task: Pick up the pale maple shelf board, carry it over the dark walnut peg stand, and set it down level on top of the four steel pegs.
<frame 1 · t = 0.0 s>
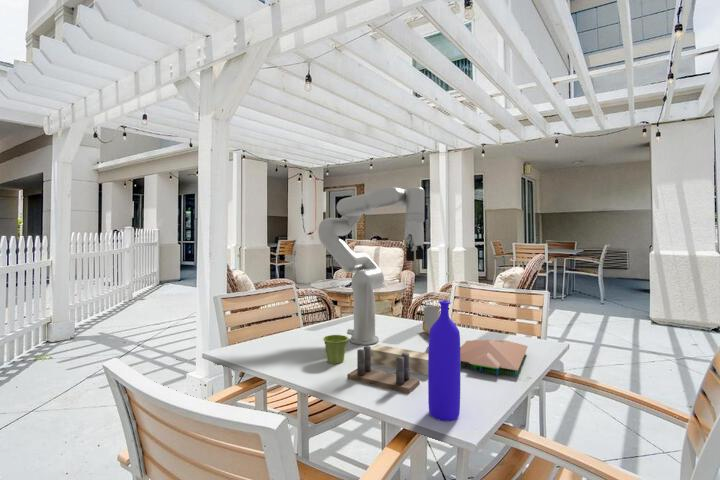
hand: (414, 260, 154), 37 cm above the table, tool pointing down, fingers open, 9 cm apart
peg stand: (382, 381, 122), on the table
plant pot: (335, 361, 141), on the table
bottle: (444, 414, 100), on the table
house: (489, 362, 142), on the table
shelf board: (403, 367, 135), on the table
snack package: (435, 338, 173), on the table
chalice: (431, 353, 151), on the table
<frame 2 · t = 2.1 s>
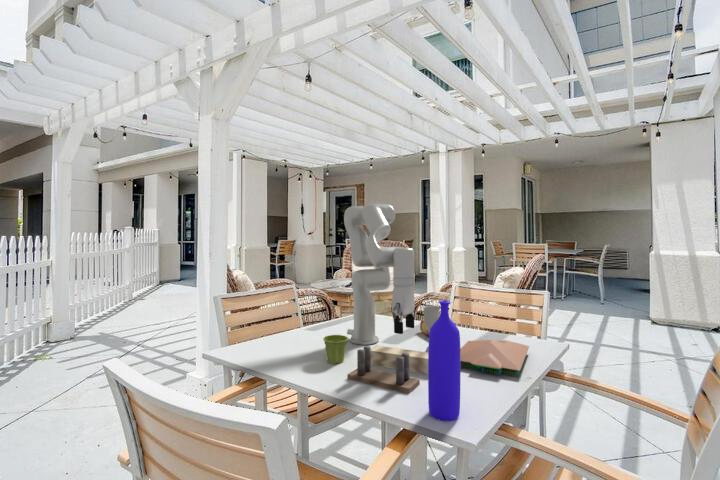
hand: (404, 330, 135), 13 cm above the table, tool pointing down, fingers open, 9 cm apart
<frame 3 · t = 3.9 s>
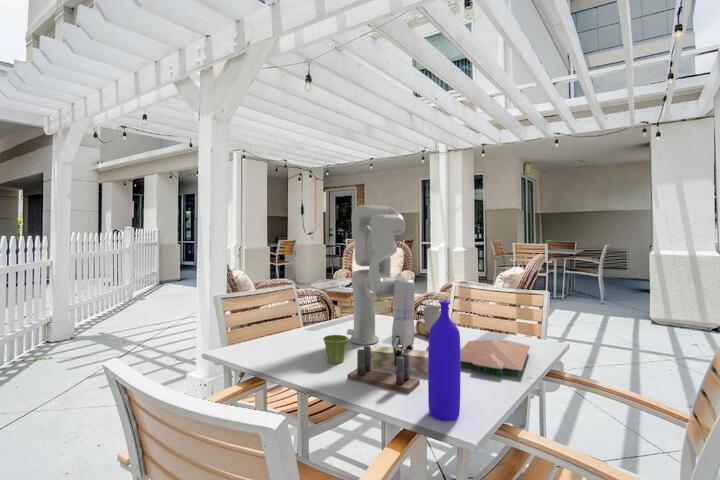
hand: (404, 363, 135), 1 cm above the table, tool pointing down, fingers closed on shelf board, 7 cm apart
shelf board: (403, 366, 135), on the table, touching gripper
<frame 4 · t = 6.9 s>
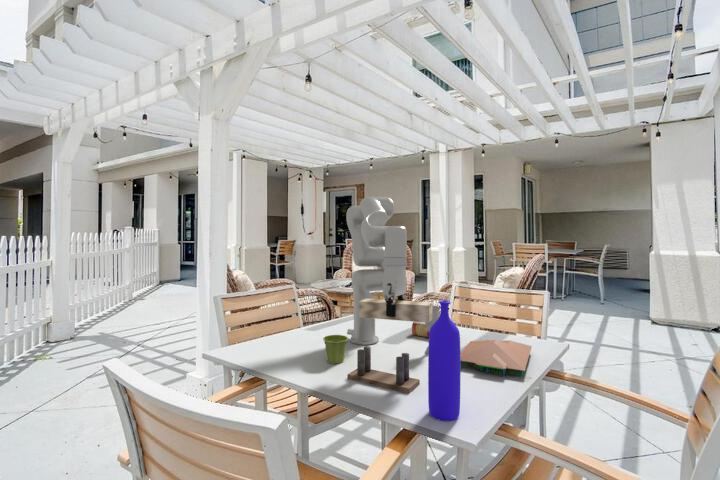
hand: (395, 314, 129), 20 cm above the table, tool pointing down, fingers closed on shelf board, 7 cm apart
shelf board: (395, 317, 129), point 19 cm above the table, touching gripper
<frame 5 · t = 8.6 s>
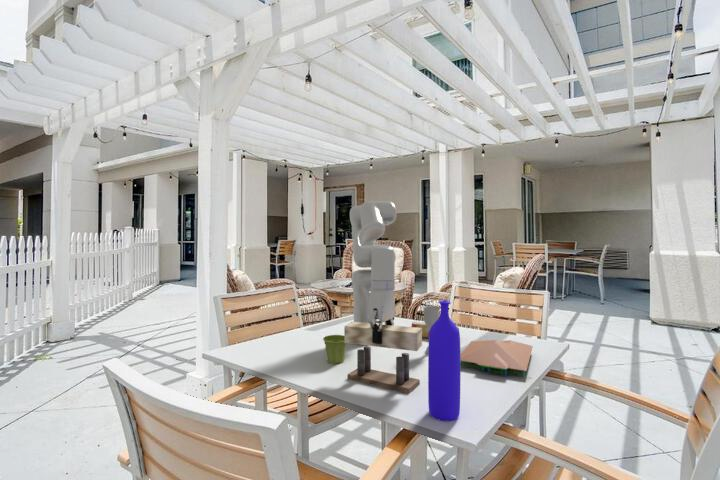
hand: (382, 339, 121), 14 cm above the table, tool pointing down, fingers closed on shelf board, 7 cm apart
shelf board: (382, 344, 121), point 12 cm above the table, touching gripper
when the fingers open (12 cm above the table, at t = 9.8 s): shelf board drops 1 cm, resting on peg stand.
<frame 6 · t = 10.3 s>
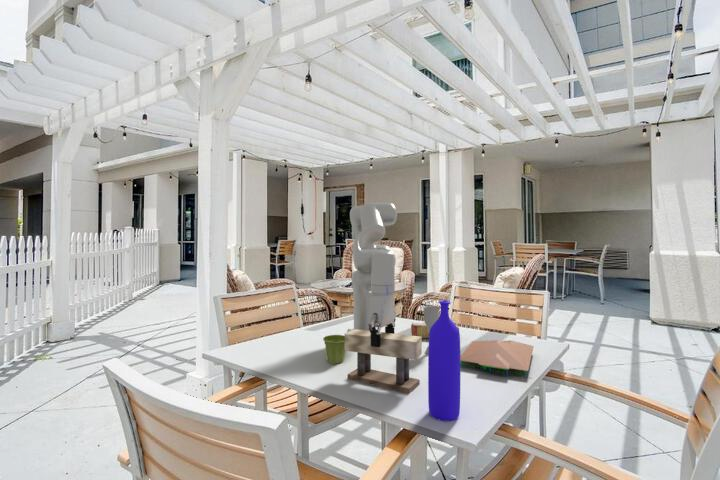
hand: (382, 342, 122), 13 cm above the table, tool pointing down, fingers open, 9 cm apart
shelf board: (382, 352, 122), point 9 cm above the table, touching peg stand
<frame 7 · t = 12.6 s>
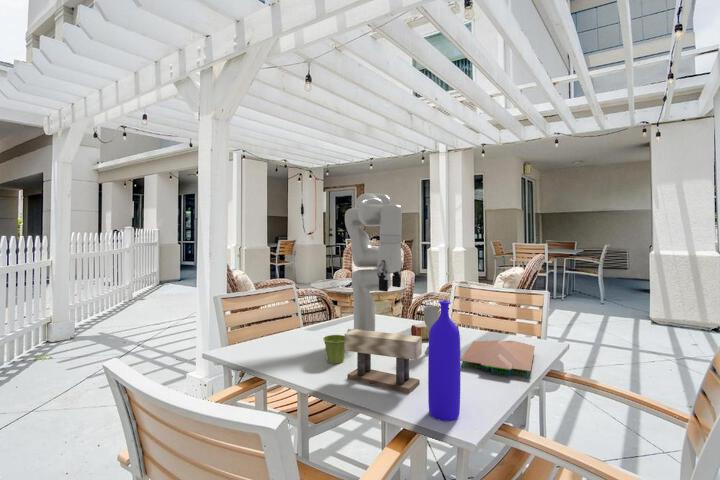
hand: (390, 288, 132), 28 cm above the table, tool pointing down, fingers open, 9 cm apart
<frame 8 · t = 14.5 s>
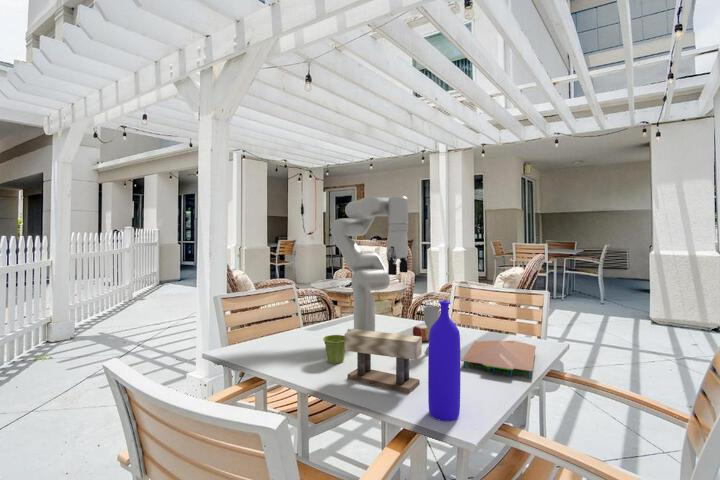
hand: (398, 273, 145), 32 cm above the table, tool pointing down, fingers open, 9 cm apart
at the end: shelf board 0.1 cm off-centre on the peg stand, point 9.5 cm above the peg stand's base; shelf board tilted 0°; shelf board touching peg stand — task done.
